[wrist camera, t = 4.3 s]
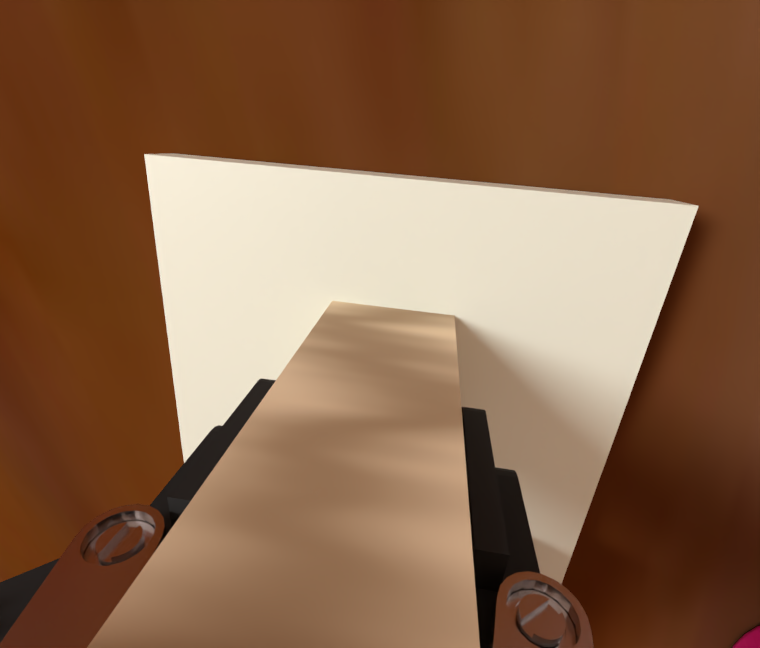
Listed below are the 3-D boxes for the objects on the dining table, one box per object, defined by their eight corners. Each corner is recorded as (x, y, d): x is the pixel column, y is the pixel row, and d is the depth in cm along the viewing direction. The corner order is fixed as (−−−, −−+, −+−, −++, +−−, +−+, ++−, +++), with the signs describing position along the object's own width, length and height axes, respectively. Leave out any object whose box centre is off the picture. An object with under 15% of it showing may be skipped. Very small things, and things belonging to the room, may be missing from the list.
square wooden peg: (454, 315, 14) (507, 1008, 3) (437, 418, 15) (429, 1123, 4) (332, 300, 14) (-61, 856, 3) (328, 403, 16) (60, 1013, 5)
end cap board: (671, 199, 13) (867, 245, 7) (512, 671, 22) (538, 862, 16) (172, 153, 14) (-17, 158, 8) (221, 615, 24) (147, 771, 18)
